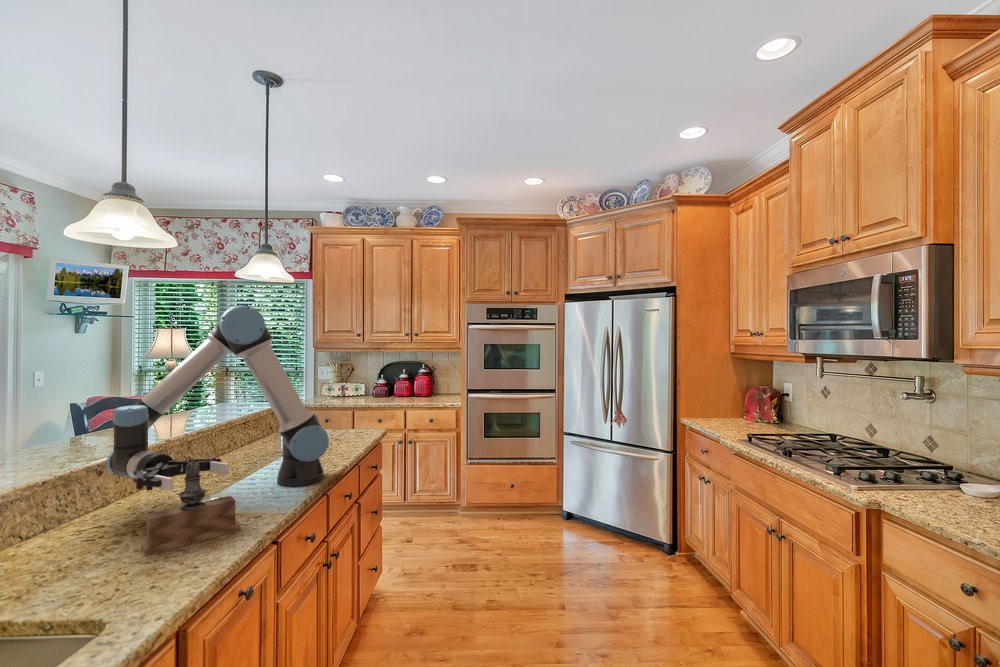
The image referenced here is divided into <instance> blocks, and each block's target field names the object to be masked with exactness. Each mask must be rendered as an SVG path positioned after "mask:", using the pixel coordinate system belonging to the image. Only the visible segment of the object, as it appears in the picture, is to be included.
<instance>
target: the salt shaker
mask: <svg viewBox="0 0 1000 667" xmlns="http://www.w3.org/2000/svg"><path fill="white" fill-rule="evenodd" d="M191 459H192V460H191V461H192V462H191V463H189V464H188V465H187V466H186V474H185V477H184V478H183V480H185V487H184V490H183V491H182V492H179V494H178V497H179V498H180V501H181V503H183V505H182V506H180V507H181V508H180V510H183V511H189V510H195V509H199V508H201V507H203V506H205V503H203V499H204V498H205V496H206V492H207V489H206V488H202V486H201V477H202V475H201V474H200V471H199V464H198V463H196V462H194V459H195V458H191Z"/></svg>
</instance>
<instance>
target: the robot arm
mask: <svg viewBox="0 0 1000 667" xmlns="http://www.w3.org/2000/svg"><path fill="white" fill-rule="evenodd" d="M273 339H274V338H273V337H272V334H271V333H270V331H269V329H268V328H267V326H266V322H265V319H264V316H263V315H262V314H261V312H260V311H258V309H256V308H254V307H251V306H250V305H244V304H242V305H234V306H232V307H230V308H228V309H226V310H225V311H223V313H222V314H221V316H220V318H219V321H218V322H217V323H216V325H215V326H214V327H213V329H211V330H210V331H209V332H208V333H207V338H206V339H205V340H204V341H203V342H202V343H201V344H200V345H199V346H197V347H196V349H194V350H193V351H192V352H191V353H190V354H189V355H188V356H187V357H185V358H184V359H183V360H182V361H180V363H178V365H177V366H176V367H174V368H173V369H172V370H171V371H170V372H169V373H168V374H167V375H165V377H164V378H162V379H161V380H160V381H159V382H158V383H157V384H156V385H155V386H154V387H153V388H151V389H150V390H149V391H148V392H147V393H146V394H145V395H143V396H142V397H141V398H140V400H138V401H137V402H136V403H135V404H133V405H126V406H120V407H119V406H118V407H116V408H115V409H114V410H113V419H112V423H113V450H112V451H111V453H109V455H108V457H107V459H106V462H105V467H106V469H107V471H108V472H110V473H111V474H114V475H116V476H117V477H119V478H122V477H123V478H129V479H132V480H133V482H135V486H136V488H135V489H136V490H142V489H144V488H143V487H145V488H146V489H145V490H146V491H147V492H148V491H152V490H153V488H157V489H161V490H166V491H173V490H174V478H173V477H174V476H180V475H181V476H183V475H186V466H187V465H188V464H189V463H191V462H192V461H191V460H192V459H194V462H196V463H198V464H199V472H210V473H214V474H220V475H229V474H230V473H229V472H230V471H229V470H230V469H229V465H230V464H229V463H227V462H222V460H221V459H222V458H220V457H219V458H217V457H213V458H185V460H176V459H173V458H172V456H170V455H168V454H166V453H162V452H161V453H160V452H156V451H150V450H149V429H150V427H152V426H153V425H154V424H155V423H156V422H157V421H158V420H159V419H160V418H161V417H162V416H163V415H164V414H165V413H166V412H167V411H169V409H170V408H171V407H172V406H174V405H175V404H176V403H177V402H178V401H179V400H180V399H181V398H183V397H184V395H186V394H187V393H188V392H189V391H190V390H191V389H192V388H193V387H194V386H195V385H196V384H198V382H199V381H200V380H201V379H203V378H204V377H205V376H206V375H207V374H208V373H209V372H210V371H211V370H212V369H213V368H215V366H216V365H218V364H219V363H220V362H221V361H222V359H224V358H225V357H226V356H228V355H230V354H233V355H234V356H235V357H239V358H241V359H243V361H244V362H245V364H246V366H247V367H248V370H249V371H250V373H251V374H252V376H253V379H254V380H255V382H256V384H257V385H258V387H259V389H260V391H261V392H262V394H263V395H264V397H265V399H266V400H267V402H268V404H269V406H270V407H271V409H272V411H273V413H274V414H275V417H276V418H277V420H278V422H279V423H280V425H279V428H278V433H279V434H280V436H281V438H282V461H281V464H280V468H279V470H278V473H277V476H276V480H277V481H276V484H277V485H279V486H281V487H289V488H290V487H292V488H293V487H294V488H295V487H304V486H309V485H312V484H315V483H316V484H317V483H318V482H320V481H322V480H323V479H324V475H325V474H324V469H323V466H322V463H321V461H320V460H321V459H320V458H321V457H322V456H323V455H324V454H325V453H326V452H327V449H328V447H329V445H330V444H329V442H330V439H329V434H328V432H327V431H326V430H325V428H323V426H322V424H321V423H320V420H319V416H318V415H317V414H315V412H314V411H311V410H307V408H306V406H305V405H304V403H303V401H302V400H301V397H300V396H299V394H298V393H297V390H296V388H295V387H294V385H293V383H292V382H291V380H290V377H289V376H288V373H287V372H286V371H285V369H284V367H283V365H282V363H281V362H280V360H279V358H278V356H277V354H276V353H275V350H274V348H272V347H273V346H272V345H271V344H272V343H273V342H272V341H273Z"/></svg>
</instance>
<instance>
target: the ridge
mask: <svg viewBox="0 0 1000 667" xmlns="http://www.w3.org/2000/svg"><path fill="white" fill-rule="evenodd" d="M204 501H205V500H204ZM202 502H203V501H202ZM203 503H205V506H203V507H201V508H199V509H195V510H189V511H183V510H180V508H181V507H182V506H178V507H177V506H176V507H173V508H170V509H169V508H168V509H165V510H160V511H156V512H151V513H147V514H146V540H142V541H140V548H141V549H140V550H141V551H142V553H143V555H144V557H147V556H150V555H154V554H158V553H162V552H165V550H166V551H168V550H169V549H170V550H173V549H176V547H177V548H180V546H181V547H183V545H184V546H187V544H188V545H191V544H190V543H192V544H194V543H193V542H195V543H198V542H197V541H199V542H202V541H201V540H203V541H205V540H204V539H206V540H209V539H208V538H210V539H212V538H211V537H214V538H216V537H215V536H217V537H219V536H218V535H221V536H223V535H222V534H225V535H228V534H227V533H229V534H231V533H230V532H232V533H235V532H234V531H236V532H238V531H237V530H240V531H241V523H240V522H239V521H237V520H236V499H235V498H234V497H233V496H232V495H228V496H223V497H220V498H218V499H214V500H209V501H205V502H203ZM172 548H173V549H172Z"/></svg>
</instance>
